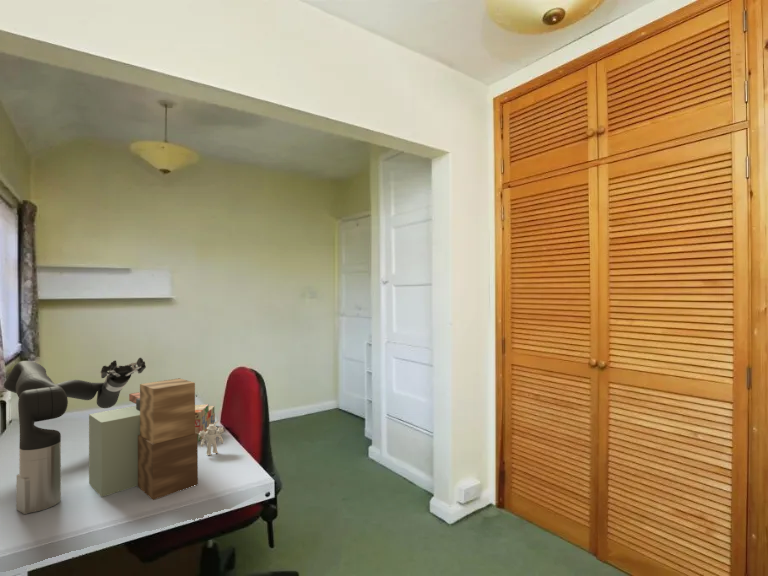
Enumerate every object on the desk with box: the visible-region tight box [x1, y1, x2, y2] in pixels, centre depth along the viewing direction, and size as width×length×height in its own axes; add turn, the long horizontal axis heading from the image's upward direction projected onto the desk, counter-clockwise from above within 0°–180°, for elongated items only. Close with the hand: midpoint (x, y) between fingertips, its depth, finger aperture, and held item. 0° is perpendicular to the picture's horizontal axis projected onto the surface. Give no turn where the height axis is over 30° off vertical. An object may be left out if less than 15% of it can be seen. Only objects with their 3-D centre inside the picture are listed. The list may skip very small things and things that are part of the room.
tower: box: [137, 377, 199, 501], centre depth 132 cm, size 13×13×32 cm
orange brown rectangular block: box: [128, 391, 140, 411], centre depth 146 cm, size 23×8×4 cm, turn 48°
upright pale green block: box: [88, 405, 140, 498], centre depth 139 cm, size 14×24×22 cm, turn 137°
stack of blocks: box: [195, 404, 216, 442], centre depth 183 cm, size 21×6×12 cm, turn 7°
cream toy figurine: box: [199, 419, 225, 456], centre depth 159 cm, size 9×4×12 cm, turn 127°
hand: (128, 361), depth 158 cm, fingers open, 8 cm apart
